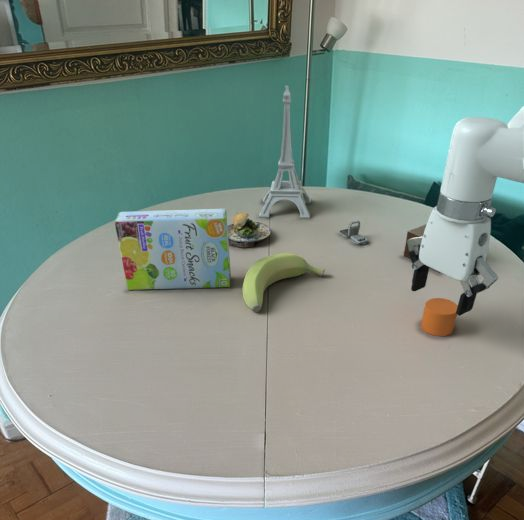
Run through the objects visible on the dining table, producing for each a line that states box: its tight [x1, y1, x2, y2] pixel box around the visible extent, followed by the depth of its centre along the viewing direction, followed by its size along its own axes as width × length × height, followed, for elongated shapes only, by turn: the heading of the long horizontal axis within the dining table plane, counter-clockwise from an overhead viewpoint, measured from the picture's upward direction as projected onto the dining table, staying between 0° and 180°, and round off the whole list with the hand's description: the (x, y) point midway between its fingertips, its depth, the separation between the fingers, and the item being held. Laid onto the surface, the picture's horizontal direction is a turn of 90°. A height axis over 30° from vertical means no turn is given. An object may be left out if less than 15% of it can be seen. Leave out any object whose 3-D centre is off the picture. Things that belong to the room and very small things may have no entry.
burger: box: [227, 212, 272, 249], centre depth 124 cm, size 12×12×8 cm
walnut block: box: [403, 223, 441, 273], centre depth 114 cm, size 10×10×6 cm
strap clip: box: [339, 220, 369, 246], centre depth 123 cm, size 8×3×4 cm, turn 26°
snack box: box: [114, 208, 232, 291], centre depth 104 cm, size 21×6×15 cm, turn 91°
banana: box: [242, 252, 326, 313], centre depth 105 cm, size 14×6×20 cm
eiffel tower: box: [258, 85, 312, 220], centre depth 132 cm, size 13×13×30 cm
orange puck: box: [420, 297, 458, 337], centre depth 92 cm, size 6×6×4 cm
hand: (439, 300), depth 90 cm, fingers open, 9 cm apart
